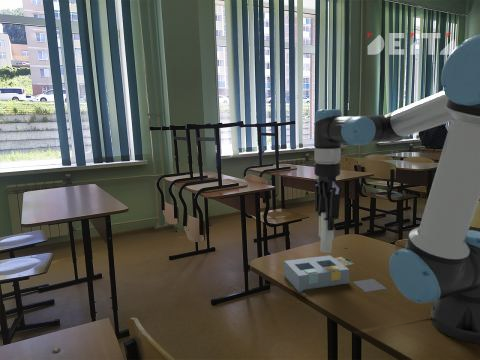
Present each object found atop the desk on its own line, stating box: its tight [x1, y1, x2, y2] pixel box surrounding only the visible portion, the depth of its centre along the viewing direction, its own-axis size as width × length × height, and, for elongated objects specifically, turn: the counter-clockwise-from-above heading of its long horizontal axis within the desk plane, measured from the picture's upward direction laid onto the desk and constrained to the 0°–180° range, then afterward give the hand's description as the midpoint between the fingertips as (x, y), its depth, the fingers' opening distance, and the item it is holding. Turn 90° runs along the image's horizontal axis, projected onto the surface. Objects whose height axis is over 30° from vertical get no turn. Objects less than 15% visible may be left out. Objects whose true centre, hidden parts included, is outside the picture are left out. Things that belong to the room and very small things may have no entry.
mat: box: [352, 278, 388, 293], centre depth 112 cm, size 7×7×1 cm
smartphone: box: [333, 255, 356, 267], centre depth 129 cm, size 8×15×1 cm, turn 108°
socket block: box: [283, 255, 350, 293], centre depth 117 cm, size 12×16×5 cm
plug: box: [319, 212, 333, 254], centre depth 116 cm, size 3×3×12 cm
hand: (326, 237), depth 116 cm, fingers closed on plug, 3 cm apart
